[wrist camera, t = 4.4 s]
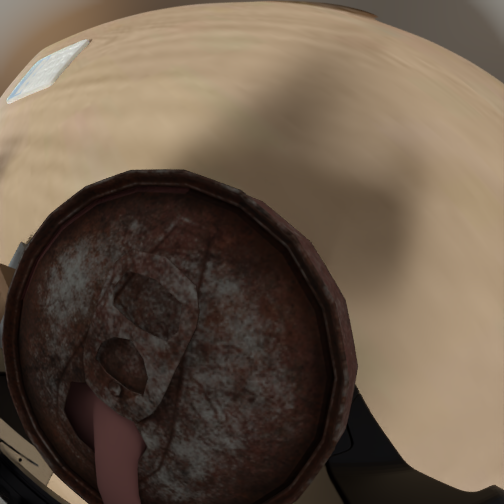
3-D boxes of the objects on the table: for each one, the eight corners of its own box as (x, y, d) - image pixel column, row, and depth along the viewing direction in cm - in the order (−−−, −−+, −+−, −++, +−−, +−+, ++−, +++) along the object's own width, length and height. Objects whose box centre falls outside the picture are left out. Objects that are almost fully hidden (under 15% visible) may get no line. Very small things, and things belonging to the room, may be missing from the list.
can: (206, 396, 15) (38, 510, 2) (191, 298, 17) (0, 206, 4) (303, 383, 15) (383, 544, 1) (287, 283, 17) (311, 108, 3)
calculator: (53, 88, 30) (47, 81, 28) (8, 106, 33) (3, 101, 31) (92, 42, 33) (89, 36, 31) (40, 64, 36) (36, 60, 34)
